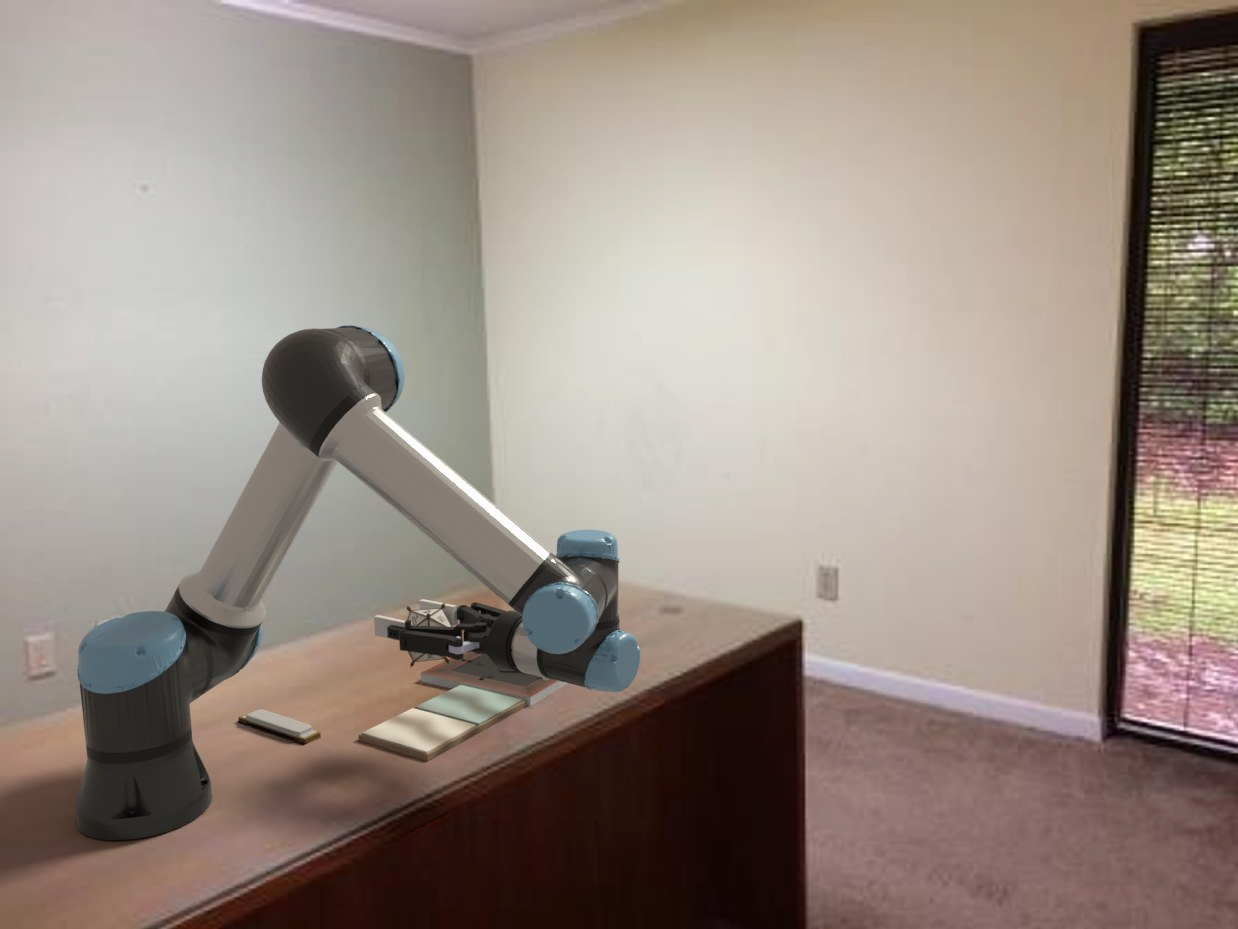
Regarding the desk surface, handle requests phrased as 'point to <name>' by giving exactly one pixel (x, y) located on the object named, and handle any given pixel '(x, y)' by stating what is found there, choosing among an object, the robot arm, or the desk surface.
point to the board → (442, 722)
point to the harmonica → (280, 726)
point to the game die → (428, 619)
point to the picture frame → (490, 678)
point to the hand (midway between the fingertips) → (399, 616)
